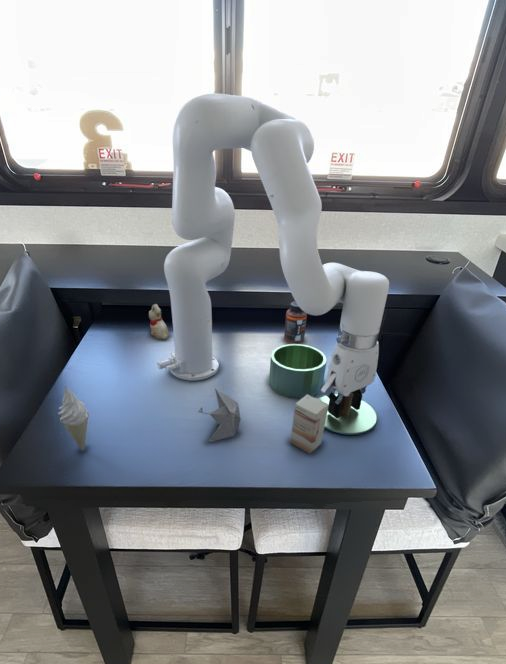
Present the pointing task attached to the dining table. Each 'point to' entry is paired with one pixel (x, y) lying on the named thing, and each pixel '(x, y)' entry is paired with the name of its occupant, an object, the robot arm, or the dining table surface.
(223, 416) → the gray faceted winged figurine
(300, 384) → the tin
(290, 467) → the dining table surface
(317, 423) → the small beige carton
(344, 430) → the lid
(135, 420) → the dining table surface
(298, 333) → the supplement bottle
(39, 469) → the dining table surface
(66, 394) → the ice cream cone
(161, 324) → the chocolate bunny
